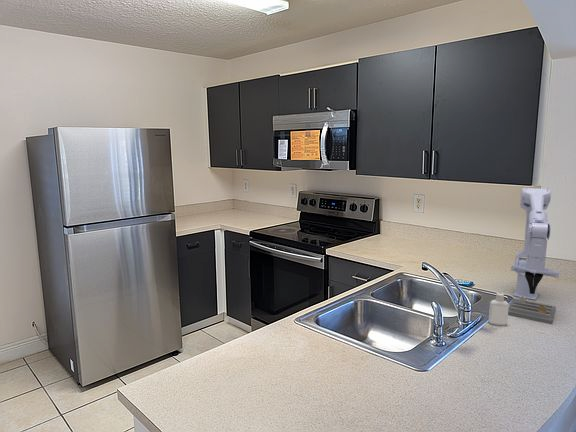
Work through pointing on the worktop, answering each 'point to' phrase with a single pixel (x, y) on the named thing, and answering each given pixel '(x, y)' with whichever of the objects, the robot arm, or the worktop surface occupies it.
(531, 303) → the switch board
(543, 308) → the oak tab
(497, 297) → the eye dropper bottle
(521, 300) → the grooved grey cube
